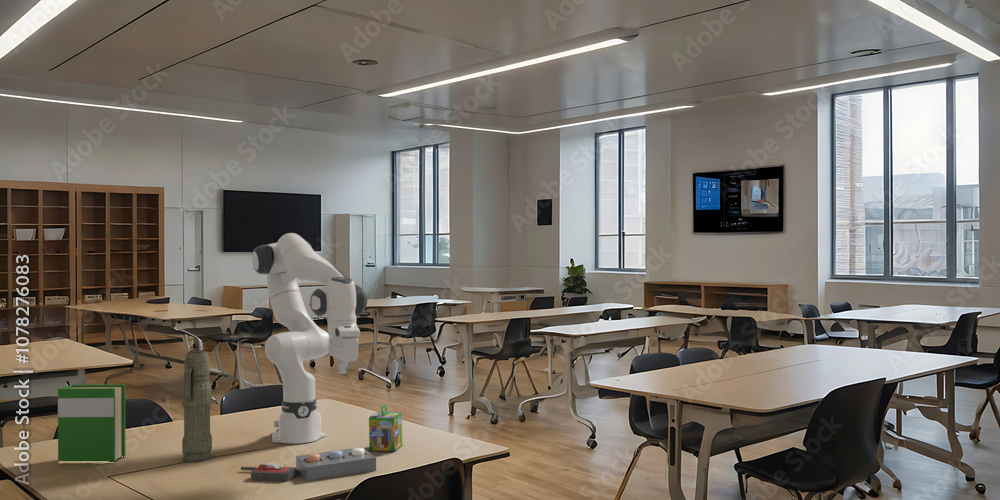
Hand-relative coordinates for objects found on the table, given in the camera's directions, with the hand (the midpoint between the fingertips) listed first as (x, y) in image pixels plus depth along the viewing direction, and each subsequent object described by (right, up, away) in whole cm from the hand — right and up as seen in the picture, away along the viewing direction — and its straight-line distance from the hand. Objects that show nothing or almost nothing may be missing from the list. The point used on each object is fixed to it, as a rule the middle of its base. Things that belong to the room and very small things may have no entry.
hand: (342, 373), depth 228 cm
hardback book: (-83, -30, +7) cm, 88 cm away
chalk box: (+11, -30, +20) cm, 37 cm away
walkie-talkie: (-21, -30, -10) cm, 38 cm away
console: (-1, -29, -4) cm, 29 cm away
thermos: (-49, -30, +9) cm, 58 cm away
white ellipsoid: (+5, -27, -1) cm, 27 cm away
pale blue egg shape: (-1, -27, -4) cm, 27 cm away
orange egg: (-7, -27, -8) cm, 29 cm away
